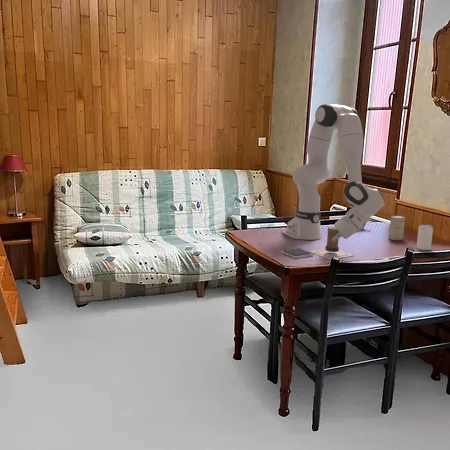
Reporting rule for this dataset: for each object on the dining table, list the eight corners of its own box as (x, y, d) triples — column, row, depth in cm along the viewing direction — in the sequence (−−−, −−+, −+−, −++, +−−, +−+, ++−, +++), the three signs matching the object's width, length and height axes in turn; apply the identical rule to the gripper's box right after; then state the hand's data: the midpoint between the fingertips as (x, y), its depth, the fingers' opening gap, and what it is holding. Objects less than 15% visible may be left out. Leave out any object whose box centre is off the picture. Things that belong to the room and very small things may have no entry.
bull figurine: (371, 229, 273) (373, 215, 272) (354, 231, 268) (355, 217, 266) (366, 227, 277) (367, 214, 275) (348, 229, 271) (349, 215, 270)
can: (416, 249, 231) (419, 226, 228) (416, 246, 237) (418, 223, 234) (430, 251, 229) (433, 227, 226) (430, 248, 235) (433, 224, 232)
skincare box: (394, 240, 248) (396, 218, 246) (388, 238, 252) (390, 216, 250) (403, 239, 251) (405, 217, 248) (397, 237, 255) (399, 215, 252)
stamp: (324, 248, 223) (326, 226, 221) (337, 248, 222) (339, 227, 220) (326, 251, 217) (327, 229, 215) (339, 252, 217) (341, 230, 214)
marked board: (310, 252, 222) (310, 251, 222) (332, 248, 230) (332, 247, 229) (331, 260, 211) (331, 259, 211) (353, 256, 218) (353, 255, 218)
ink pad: (281, 253, 220) (281, 250, 220) (298, 250, 225) (298, 247, 225) (295, 259, 211) (295, 255, 211) (313, 256, 217) (313, 252, 216)
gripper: (345, 209, 226) (323, 228, 228) (354, 218, 206) (330, 238, 208) (354, 218, 226) (332, 237, 229) (363, 228, 206) (339, 249, 209)
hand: (331, 238), depth 219 cm, fingers closed on stamp, 4 cm apart
